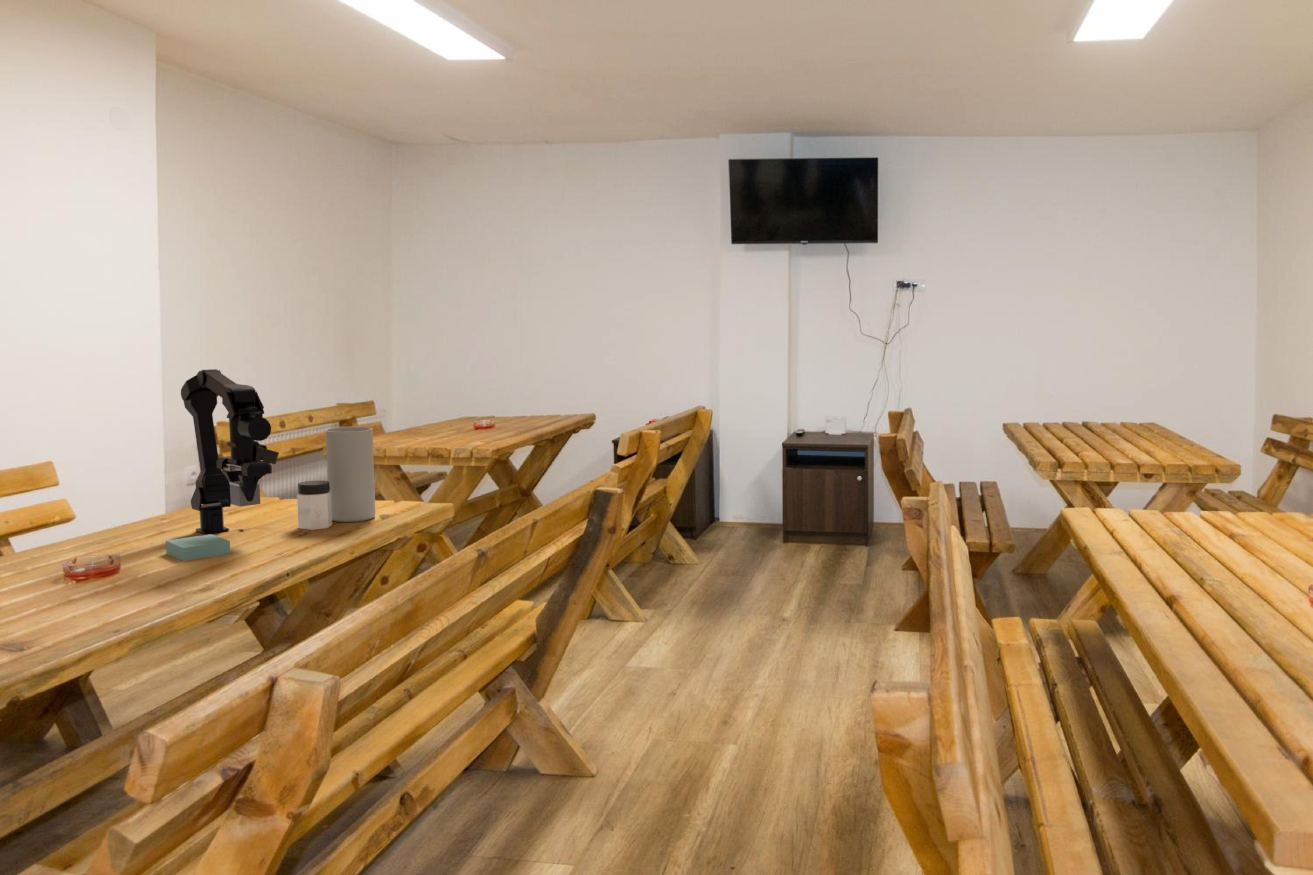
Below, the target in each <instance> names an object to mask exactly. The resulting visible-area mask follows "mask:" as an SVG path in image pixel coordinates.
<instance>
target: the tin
mask: <svg viewBox="0 0 1313 875" xmlns="http://www.w3.org/2000/svg"><path fill="white" fill-rule="evenodd" d="M229 484H230V496H231V505H232V506H233V505H234V506H237V507H247V506H256V505H261V490H260V486H261V485H260V484H261V481H260V480H259V481H258V484H257V487H256V490H255V494H254V498H253V501H248V500H247V498H246V496H245V493H244V490H243V487H242V485H241V482H240V481H232V482H229Z"/></svg>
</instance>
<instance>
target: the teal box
mask: <svg viewBox="0 0 1313 875" xmlns="http://www.w3.org/2000/svg"><path fill="white" fill-rule="evenodd" d="M165 554H167V555H169V556H170V557H171V556H172V557H174V558H176V559H178V560H181V561H183V562H184V561H186V562H187V561H192V560H197V559H205V558H210V557H211V558H212V557H218V556H225V555H230V554H231V540H229V539H225V538H223V537H220V536H218V535H216V534H214V533H208V534H204V535H198V536H190V537H182V538H176V539H169V540H165Z"/></svg>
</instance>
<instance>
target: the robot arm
mask: <svg viewBox="0 0 1313 875" xmlns="http://www.w3.org/2000/svg"><path fill="white" fill-rule="evenodd" d="M180 396H181V399H182V401H183V404H184V408H185V409H186V411H187V412H188V413H189V414H190V416H192V419H193V426H194V434H195V441H196V448H197V455H198V462H199V470H200V472H199V473H198V476H197V478H196V480H195V488H194V492H193V495H192V496H191V499H190V506H191V509H192V510H195V511H196V512H197V511H198V512H199V522H200V523H199V524H200V525H199V526H200V528H199V527H198V528H195V531H196V532H199V533H201V534H204V535H209V534H214V533H220V532H229V531H230V528H228V527H225V524H224V522H225V521H224V520H225V518H224V508H230V507H231V506H232V504H231V496H230V484H229V482H232V481H240V482H241V485H242V487H243V490H244V493H245V496H246V498H247V500H248V501H253V498H254V494H255V490H256V487H257V484H258V481H259V482H260V480H261V478H262V477H264V476H266V475H269V474H272V473H273V468H272V465H276V464H277V461H278V457H279V455H280V454H279V453H280V452H278V451H275V450H271V449H268V446H267V445H264V444H260V442H261V441H264V440H266V439H268V438H269V436H270V435H271V433H272V425H271V423H270V421H269V420H267V419H266V418H264V414H265V410H264V408H265V406H264V404H263V402H262V400H261V398H260V396H259V394H258V392H257V391H256V389H255V387H253V386H251V385H249V384H239V383H236V382H235V381H234V380H232V379H231V378H229V377H227V376H226V375H224V374H223V373H222V372H221V370H220V369H216V368H215V369H214V368H213V369H201V370H199V371H198V372H197V373H196V375H193V376H192V377H190V378H189V379H186V381H184V384H183V385H182V387H181V389H180ZM218 397H220V398H221V399H222V400H221V401H222V402H221V404H222V405H223V406H224V408H225V409H226V411H227V412H228V413H227V415H226V418H227V419H228V426H229V441H227V442H226V446H227V447H229V448H230V449H229V450H230V455H229V456H219V452H218V445H217V439H216V438H217V437H216V431H215V423H214V415H213V413H214V411H215V409H216V407H217V405H218ZM271 464H272V465H271ZM224 468H225V470H224Z"/></svg>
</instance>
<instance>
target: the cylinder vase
mask: <svg viewBox="0 0 1313 875" xmlns="http://www.w3.org/2000/svg"><path fill="white" fill-rule="evenodd" d="M324 432H325V450H326V452H325V453H326V475H327V480H326V481H328V482H329V483H330V491H331V508H332V522H333V521H334V522H338V523H355V522H356V523H357V522H364V521H368V520H372V519H373V518H375V516H376V495H375V494H376V492H375V468H374V467H375V466H374V465H375V463H374V434H373V433H374V432H373V428H372V427H368V426H345V427H344V426H341V427H332V428H331V427H330V428H328V429H327V428H326V429H325V431H324Z"/></svg>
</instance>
